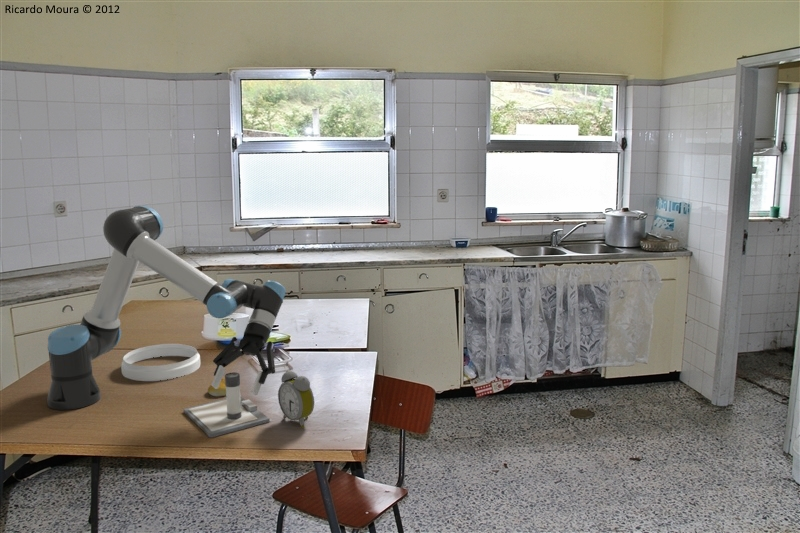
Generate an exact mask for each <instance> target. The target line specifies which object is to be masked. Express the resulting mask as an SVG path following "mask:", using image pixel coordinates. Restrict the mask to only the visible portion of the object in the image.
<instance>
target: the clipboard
mask: <svg viewBox="0 0 800 533" xmlns="http://www.w3.org/2000/svg"><path fill="white" fill-rule="evenodd" d="M240 398H241V415H242V416H241V418H239V419H234V420H231V419H228V418H227V399H226V398H224V399H220V400H215V401H210V402H206V403H203V404H198V405H194V406H189V407H185V408H183V413H184V414H185V415H186V416H187V417H188V418H189V419H190V420H191V421H192V422H194V423H195V425H197V427H199V429H201V430H202V431H203V432H204V433H205V434H206V435H207V436H208V437H209V438H215V437H218V436H222V435H225V434H226V435H227V434H229V433H235V432H237V431H241V430H244V429H248V428H252V427H255V426H259V425H263V424H267V423H269V422H271V421H270V418H269V417H268V416H267V415H266V414H264V413H263V412H261V410H260V409H258V405H257V404H256V403H255V402H253V401H252V400H250V399H249V398H248V399H244V398H243V396H240Z"/></svg>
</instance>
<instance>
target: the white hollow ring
mask: <svg viewBox="0 0 800 533" xmlns="http://www.w3.org/2000/svg"><path fill="white" fill-rule="evenodd" d="M160 356H162V357H185V358H187V357H188V358H187V359H185V360H182V361H178V362H173V363H169V364H163V365H162V364H161V365H137V364H135V363H137V362H140V361H144V360H147V359H154V358H159V357H160ZM153 357H154V358H153ZM160 358H161V357H160ZM122 359H123V360H122V361H121V364H120V366H121V374H122V376H123V377H124V378H126V379H129V380H133V381H139V382H140V381H141V382H157V381H160V380H161V381H166V380H167V379H168V380H174V379H177V378H176V377H178V378H181V376H182V377H184V375H185V376H187V375H191V374H192V373H195V372H197V370H198V369H199V368H200V367H201V355H200V353H199V352H198V349H197V348H196V347H194V346H191V345H188V344H182V343H161V344H160V343H159V344H153V345H148V346H142V347H140V348H139V347H138V348H135V349H133V350H131V351H129V352H127V353H126V354H125V355H124V356H123V358H122ZM173 378H174V379H173Z"/></svg>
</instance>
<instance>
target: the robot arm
mask: <svg viewBox="0 0 800 533" xmlns="http://www.w3.org/2000/svg"><path fill="white" fill-rule="evenodd" d="M163 222H164V221H163V219H162V217H161V215H160V214H159V213H158V211H156V210H155V209H154V208H152V207H149V206H145V205H143V206H140V205H138V206H134V207H131V208H125V209H118V210H115V211H113V212H112V213H110V214H109V215H108V216H107V217H106V219H105V220H104V223H103V226H102V230H103V231H102V232H103V235H104V238H105V240H106V241H107V243H108V244H109V245H110V246H111V247H112V248H113V250H112V254H111V256H110V258H109V261H108V264H107V267H106V270H105V273H104V274H103V277H102V280H101V282H100V286H99V288H98V290H97V293H96V295H95V299H94V301H93V304H92V307H91V309H89V310H87V311H85V312H84V314H83V317H82V318H81V321H80V324H71V325H70V324H69V325H65V326H61V327H59V328H57V329H54V330H52V331H51V332H50V334H48V336H47V337H48V338H47V351H48V357H49V359H48V360H49V368H50V376H51V377H50V378H51V382H50V386H49V390H48V393H47V398H46V400H47V401H46V402H47V406H48V407H49V408H50V409H52V410H58V411H65V410H66V411H68V410H69V411H70V410H76V409H81V408H86V407H88V406H91V405H93V404H95V403H97V402H98V401H99V400H101V389H100V387H99V385H98V383H97V381H96V379H95V377H94V375H93V374H94V373H93V364H92V363H93V362H92V361H94V360H95V359H97V358H99V357H101V356H103V355H105V354H106V353H108V352H110V351H111V350H113V349H114V348H115V347H116V346H117V345H118V344H119V343H120V341H121V337H122V336H121V335H122V329H120V328H121V327H120V326H121V320H120V318H119V315H120V313H121V310H122V308H123V306H124V302H125V300H126V297H127V295H128V293H129V290H130V287H131V285H132V282H133V280H134V278H135V275H136V272H137V269H138V267H139V264H140V263H141V264H142V265H144V266H146V267H147V268H149V269H150V270H152V271H153V272H155V273H156V274H158V275H159V276H161V277H162V278H164V279H165V280H167V281H169V282H170V283H172V284H173V285H175V286H176V287H178V288H179V289H180V290H182V291H184V292H185V293H187V294H188V295H190V296H192V297H193V298H194V299H195V300H198V302H200V303H202V304H203V305H204V306H206V309H207V311H208V313H209V315H211V317H213V318H216V319H225V318H227V317H230V316H231V315H233V314H234V313H235V312H236V311H238V310H239V309H241V308H242V307H244V308H249V309H253V310H252V311H251V315H250V318H249V319H248V323H247V325H246V327H245V330H244V331H243V337H242V338H241V339H240V338H237V337H236V336H233V337H232V339H231V340H230V342H229V343H228V345H226V346H225V347H224V348H223V349H222V350H221V352H219V353H218V354H217V355H216V356H215V358H213V360H212V362H213V364H215V366H216V368H215V370H214V372H213V376H214V378H213V379H212V382H211V384H210V385H212V386H213V387H214V388H215V389H218V387H219V384H220V382H221V380H222V379H223V377H224V376H225V374H226V373H225V372H226V370H227V369H226V367H227V366H228V365H230V364H231V363H233V362H234V361H235V360H237V359H238V358H239V357H242V356H244V355H245V356H251V357H252V356H253V357H255V356H256V358H257V362H258V363H259V366H260V368H261V370H258V373H257V375H256V377H255V381H254V383H253V386H252V388H251V391H250V392H252V394H254V395H255V396H258V395H259V392H260V389H261V386H262V385H264V384H265V382H266V380H267V378H268V375H269V374H272V375H273V374H275V373H276V366H275V356H274V355H275V354H274V350H275V348H276V347H275V345H274V343H273V342H272V341H268V340H269V338H270V335H271V331H272V330H273V327H274V326H275V322H276V319H277V317H278V314H279V312H280V309H281V307H282V305H283V303H284V300H285V299H284V298H285V296H286V292H287V290H286V288H285V286H284V285H282V284H281V283H279V281H278V282H277V281H275V280H267V281H265V282H264V284H263V285H257V284H252V283H250V282H246V281H241V280H239V279H234V278H233V279H231V278H227V279H225V280H224V281H223V283H221V284H220V283H219V282H217V281H216V280H215V279H213V278H211V277H210V276H209V275H207V274H205V273H204V272H202V271H201V270H199V269H198V268H197V267H195V266H193V265H192V264H190V263H189V262H187V261H186V260H184V259H182V258H181V257H180V256H178V255H177V254H175V253H174V252H172V251H171V250H169V249H168V248H167V247H165V246H163V245H162V244H160V243H159V242H158V241H156V240H158V239H159V237H160V236H161V235H162V233H163V231H164V223H163ZM264 349H266V360H267V364H266V361H265V358H264V354H263V352H262V351H263V350H264Z"/></svg>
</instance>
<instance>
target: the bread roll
mask: <svg viewBox="0 0 800 533" xmlns="http://www.w3.org/2000/svg"><path fill="white" fill-rule="evenodd" d="M207 393H208V394H209V395H211V396H212V397H226V386H225V378H222V380H221V382H220V384H219V387H218V389H215V388H214V387H213V386H212V385H211V384H210V385H209V386H208V387H207Z"/></svg>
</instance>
